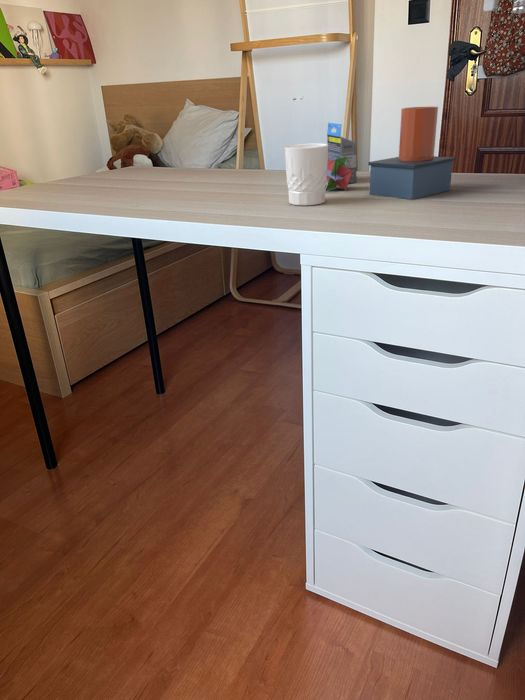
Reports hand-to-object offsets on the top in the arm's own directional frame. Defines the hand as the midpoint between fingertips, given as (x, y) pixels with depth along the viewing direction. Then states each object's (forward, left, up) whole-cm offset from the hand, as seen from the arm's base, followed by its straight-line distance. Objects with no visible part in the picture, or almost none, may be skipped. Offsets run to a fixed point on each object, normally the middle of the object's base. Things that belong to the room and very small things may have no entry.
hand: (505, 12), depth 90 cm
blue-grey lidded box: (+11, -9, -29) cm, 32 cm away
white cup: (+30, -18, -29) cm, 46 cm away
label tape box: (+8, -30, -29) cm, 43 cm away
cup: (+10, -9, -23) cm, 27 cm away
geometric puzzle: (+17, -23, -29) cm, 41 cm away
